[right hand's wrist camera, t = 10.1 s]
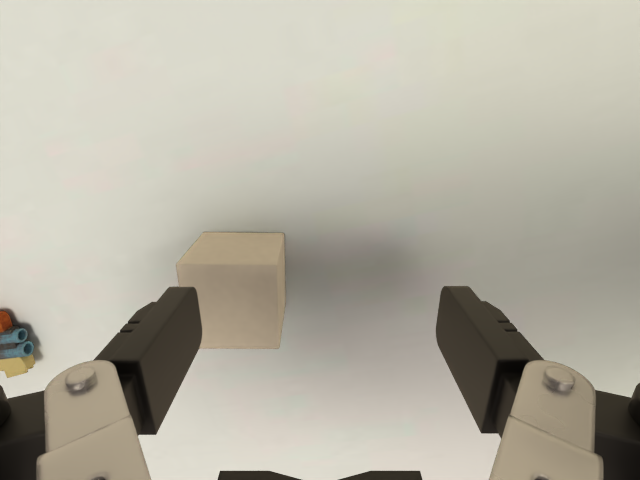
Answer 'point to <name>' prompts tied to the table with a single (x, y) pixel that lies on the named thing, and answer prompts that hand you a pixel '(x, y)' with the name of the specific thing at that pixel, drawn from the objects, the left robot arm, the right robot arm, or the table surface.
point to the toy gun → (14, 348)
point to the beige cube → (237, 288)
